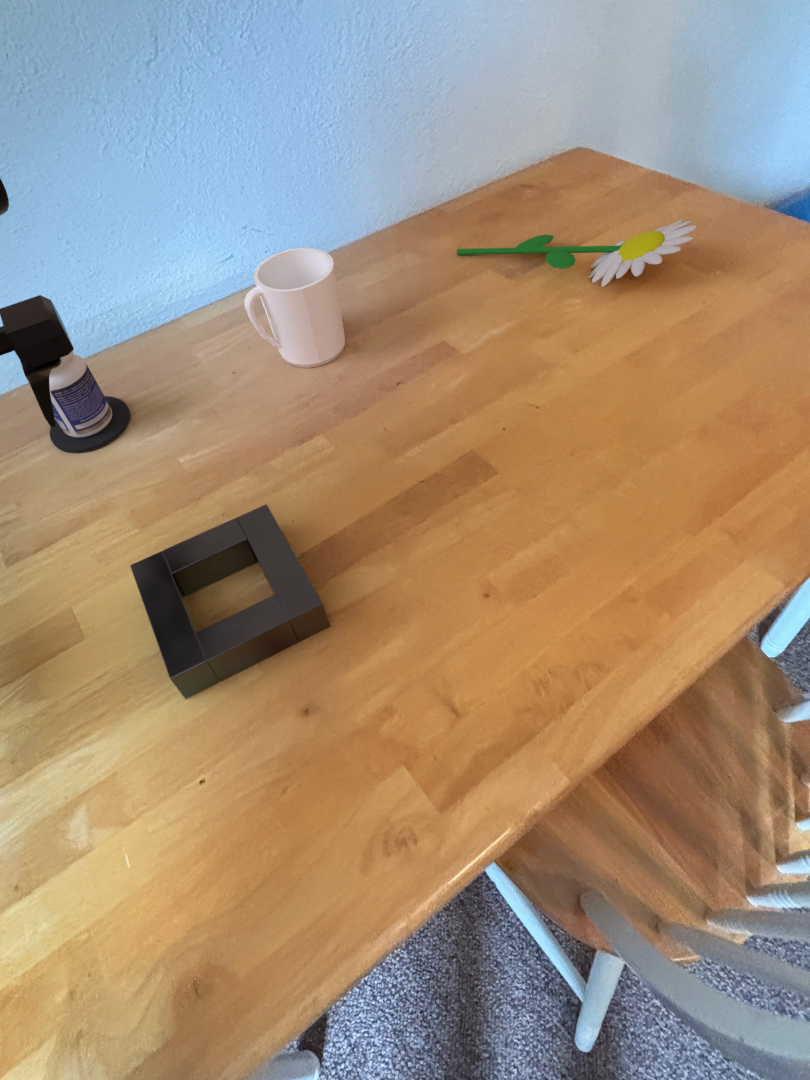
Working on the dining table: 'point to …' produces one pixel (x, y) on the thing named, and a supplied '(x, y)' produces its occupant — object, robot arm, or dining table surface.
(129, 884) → the dining table surface
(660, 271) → the dining table surface
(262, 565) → the stand
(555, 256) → the decorative flower
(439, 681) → the dining table surface
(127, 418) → the coaster
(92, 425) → the pill bottle
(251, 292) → the mug
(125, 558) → the dining table surface
